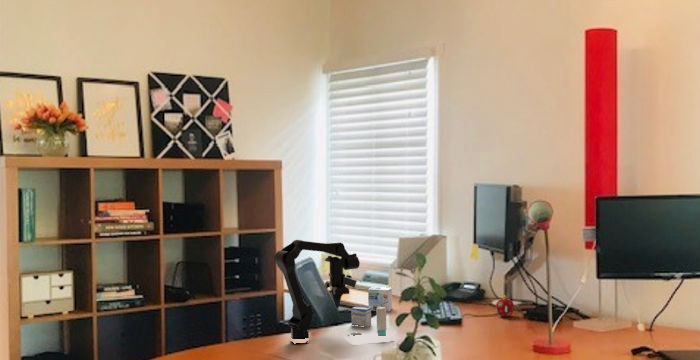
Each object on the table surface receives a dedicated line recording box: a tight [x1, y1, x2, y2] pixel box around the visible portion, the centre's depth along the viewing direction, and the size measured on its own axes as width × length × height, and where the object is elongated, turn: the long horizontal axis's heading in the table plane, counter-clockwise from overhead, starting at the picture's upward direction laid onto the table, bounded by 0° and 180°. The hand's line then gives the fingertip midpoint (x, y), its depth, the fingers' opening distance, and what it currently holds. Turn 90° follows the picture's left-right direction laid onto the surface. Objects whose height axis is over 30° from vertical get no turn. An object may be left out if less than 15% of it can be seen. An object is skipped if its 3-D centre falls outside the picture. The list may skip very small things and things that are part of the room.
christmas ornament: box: [495, 294, 516, 318], centre depth 359 cm, size 9×9×10 cm
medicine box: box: [350, 306, 372, 328], centre depth 346 cm, size 8×4×9 cm, turn 62°
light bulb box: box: [367, 286, 393, 312], centre depth 381 cm, size 11×7×11 cm, turn 73°
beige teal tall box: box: [375, 307, 387, 336], centre depth 325 cm, size 4×4×12 cm
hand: (337, 307), depth 332 cm, fingers closed
